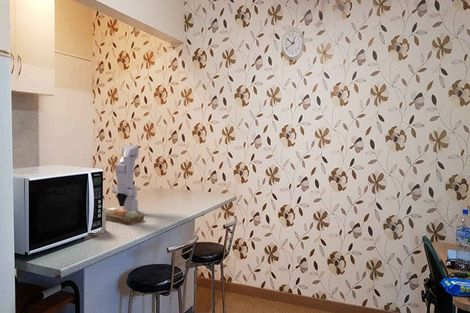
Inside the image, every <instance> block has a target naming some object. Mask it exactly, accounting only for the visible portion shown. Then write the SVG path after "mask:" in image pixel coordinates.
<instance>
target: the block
mask: <svg viewBox="0 0 470 313" xmlns="http://www.w3.org/2000/svg"><path fill="white" fill-rule="evenodd" d="M138 213H139V211H138V212H133V211H130V212H126V213H125V217H127V218H131V219H132V218H135V217H138V215H139V214H138Z"/></svg>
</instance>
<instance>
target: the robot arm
mask: <svg viewBox="0 0 470 313" xmlns="http://www.w3.org/2000/svg"><path fill="white" fill-rule="evenodd" d="M139 150H140V149H139V145H125V144H124V145H122V147H121V154H122V156H121V157H120V158H119V159H120V160H119V162H118V163H117V164H116V165H115V176H116V189H111V194H115V197H116V198H117V201H118V204H119V206H120V207H122V209H123V210H128V212H130V211H133V212H138V213H139V201H138V199H137V196H138V191H137V190H138V189H137V186H136V185H134V175H135V174H134V172H135V164H136V160H137V159H138V158H139V153H140V152H139Z"/></svg>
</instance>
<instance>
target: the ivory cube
mask: <svg viewBox="0 0 470 313" xmlns="http://www.w3.org/2000/svg"><path fill="white" fill-rule="evenodd" d="M117 210H120V209H119V208H117V207H109V208H106V213H107V214H116V211H117Z"/></svg>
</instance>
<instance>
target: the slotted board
mask: <svg viewBox="0 0 470 313" xmlns="http://www.w3.org/2000/svg"><path fill="white" fill-rule="evenodd" d="M143 220H144V221H145V216H144V215H143V214H138V217H135V218H132V219H131V218H127V217H125V216H117V215H116V214H107V213H106V221H109V222H113V223H118V224H123V225H127V226H131V225H134V224H137V223H140V222H143ZM133 223H134V224H133ZM130 224H131V225H130Z"/></svg>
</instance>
